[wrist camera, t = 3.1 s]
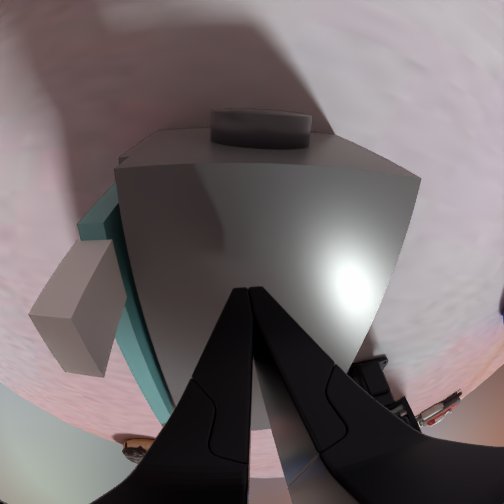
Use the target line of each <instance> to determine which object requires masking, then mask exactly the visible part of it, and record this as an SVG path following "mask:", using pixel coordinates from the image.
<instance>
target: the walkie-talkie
mask: <svg viewBox="0 0 504 504" xmlns="http://www.w3.org/2000/svg"><path fill="white" fill-rule="evenodd" d="M460 395H462V393H461V392H459V393H458V394H457V393H455V394H454V395H452V396H451V397H449V398H448V399H446V400H444V401H443V402H442V403H439V404H436V405H434V406H433V407H431V408H429V409H428V410H426V411H424V412H422V413H421V415H420V416H419V417H417V418H416V421H417V422H418V421H419V424H420V426H422V424H423V426H426V425H428V426H429V427H431V426H433V425H435V424H436V423H438V422H440V421H441V420H443V418H444V417H443V418H441V419H440V420H438V421H437V422H435V420H436V419H438V418H439V417H440V416H442V415H444V414H445V415H446V414H447V413H448V412H450V413H451V412H452V409H453V408H455V407H456V406H457V405H458V404H459V403H460V398H459V396H460ZM445 415H444V416H445Z"/></svg>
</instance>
